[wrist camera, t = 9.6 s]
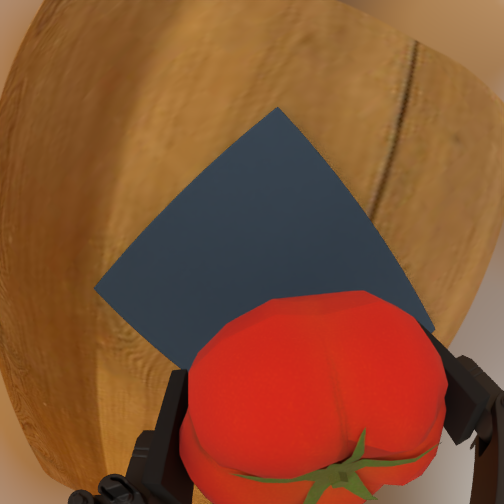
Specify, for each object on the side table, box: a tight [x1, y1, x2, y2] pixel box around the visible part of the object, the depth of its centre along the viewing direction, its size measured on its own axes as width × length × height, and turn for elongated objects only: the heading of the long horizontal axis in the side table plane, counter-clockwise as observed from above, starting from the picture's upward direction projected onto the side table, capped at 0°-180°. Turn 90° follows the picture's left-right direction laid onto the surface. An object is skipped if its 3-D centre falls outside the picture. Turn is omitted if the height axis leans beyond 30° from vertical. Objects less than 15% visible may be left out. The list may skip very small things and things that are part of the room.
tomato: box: [179, 290, 448, 504], centre depth 9 cm, size 11×11×8 cm
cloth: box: [94, 107, 435, 373], centre depth 18 cm, size 20×16×1 cm
